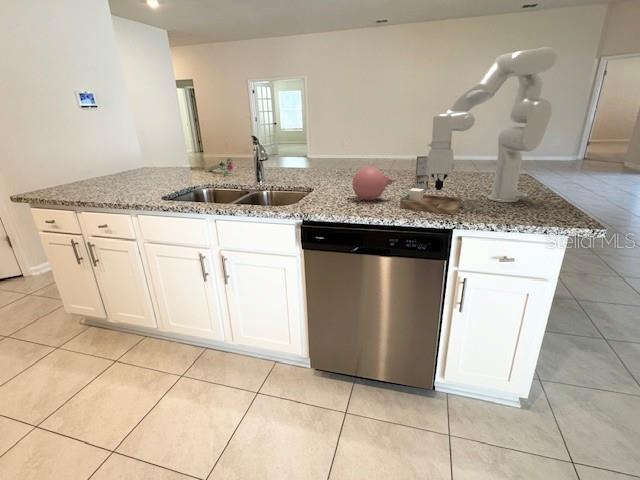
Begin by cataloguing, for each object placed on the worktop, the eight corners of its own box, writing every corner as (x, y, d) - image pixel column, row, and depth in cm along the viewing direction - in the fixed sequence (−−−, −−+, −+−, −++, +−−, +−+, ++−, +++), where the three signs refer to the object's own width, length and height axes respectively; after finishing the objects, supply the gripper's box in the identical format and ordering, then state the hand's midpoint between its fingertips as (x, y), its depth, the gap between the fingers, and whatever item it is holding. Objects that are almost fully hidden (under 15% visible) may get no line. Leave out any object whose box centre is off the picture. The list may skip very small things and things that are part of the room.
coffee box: (428, 189, 177) (431, 158, 171) (415, 189, 178) (417, 157, 173) (426, 185, 186) (429, 155, 180) (414, 185, 187) (416, 155, 181)
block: (423, 197, 152) (424, 189, 150) (420, 200, 148) (420, 191, 147) (412, 196, 154) (413, 188, 153) (408, 199, 150) (409, 190, 149)
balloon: (393, 205, 149) (395, 170, 143) (349, 203, 154) (349, 169, 149) (396, 197, 163) (398, 164, 157) (355, 195, 168) (355, 164, 163)
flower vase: (216, 181, 253) (241, 175, 228) (200, 178, 244) (225, 172, 220) (216, 165, 253) (242, 158, 228) (201, 162, 244) (226, 154, 220)
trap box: (460, 205, 146) (462, 195, 144) (453, 214, 134) (454, 203, 132) (410, 200, 156) (411, 190, 155) (399, 208, 145) (400, 197, 143)
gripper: (420, 146, 139) (419, 190, 146) (458, 146, 132) (455, 192, 138) (425, 144, 145) (423, 186, 152) (462, 144, 137) (459, 188, 144)
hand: (438, 189), depth 145 cm, fingers closed
